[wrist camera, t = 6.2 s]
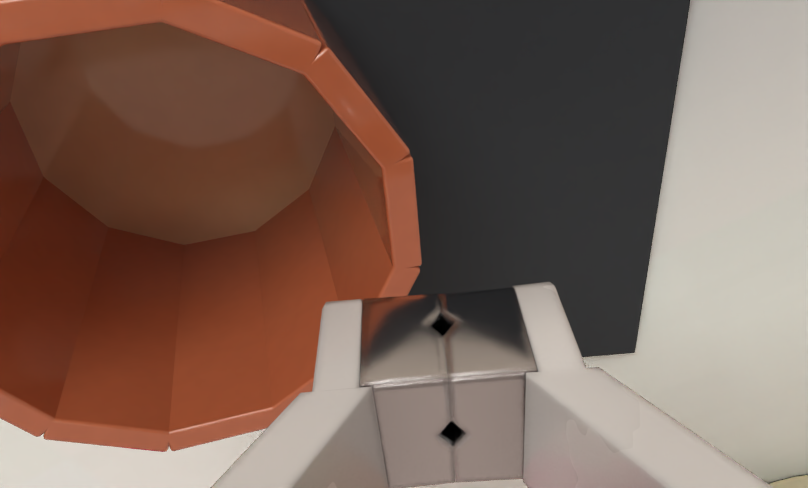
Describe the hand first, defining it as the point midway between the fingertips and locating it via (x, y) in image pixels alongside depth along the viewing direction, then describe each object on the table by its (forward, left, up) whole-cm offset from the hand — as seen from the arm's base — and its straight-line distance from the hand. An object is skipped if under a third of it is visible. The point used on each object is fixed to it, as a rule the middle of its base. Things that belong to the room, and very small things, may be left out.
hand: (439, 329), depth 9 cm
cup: (0, -1, -6) cm, 7 cm away
